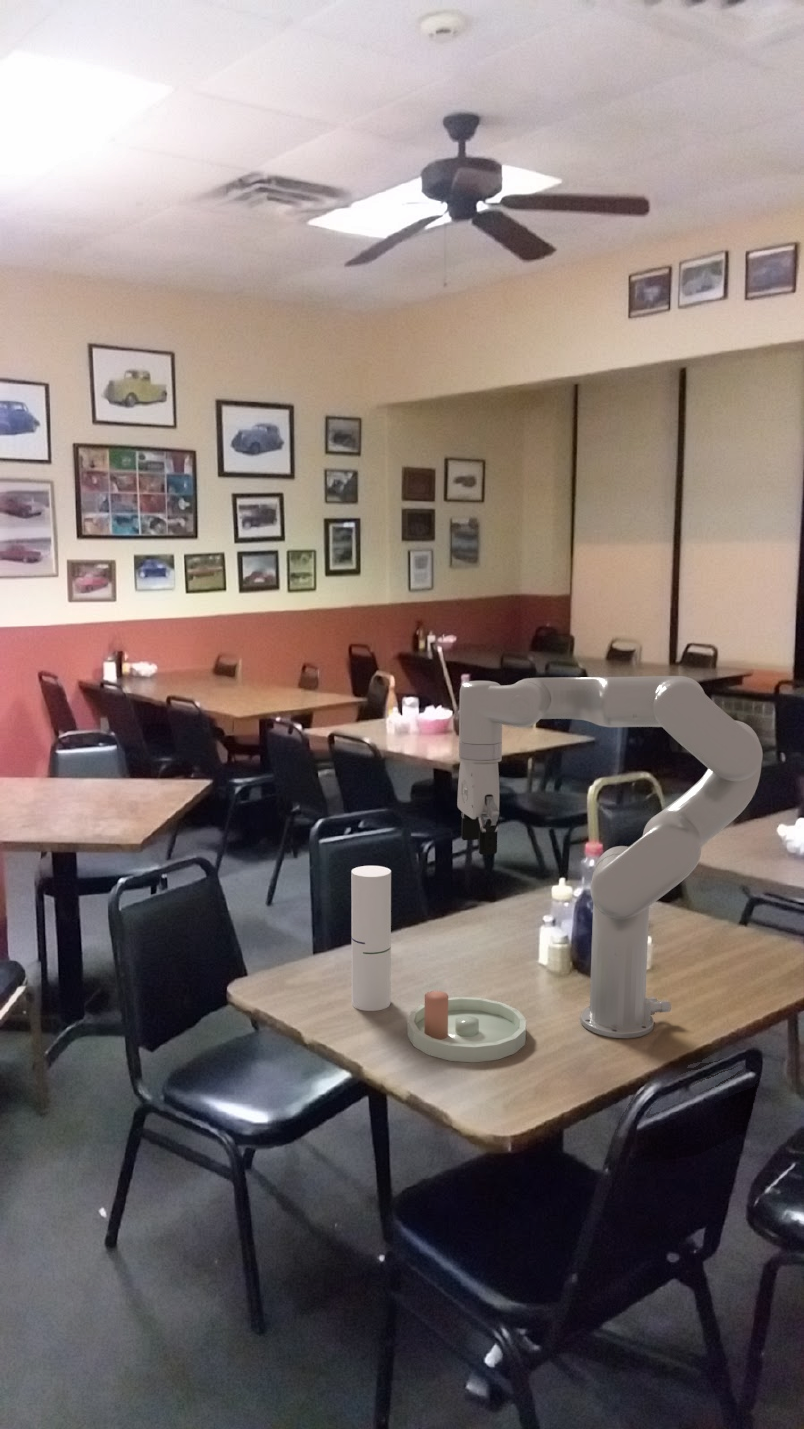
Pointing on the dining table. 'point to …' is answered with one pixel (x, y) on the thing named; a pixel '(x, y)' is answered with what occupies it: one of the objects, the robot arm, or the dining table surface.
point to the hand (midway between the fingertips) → (478, 846)
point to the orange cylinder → (436, 1015)
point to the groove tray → (472, 1031)
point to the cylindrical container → (371, 937)
